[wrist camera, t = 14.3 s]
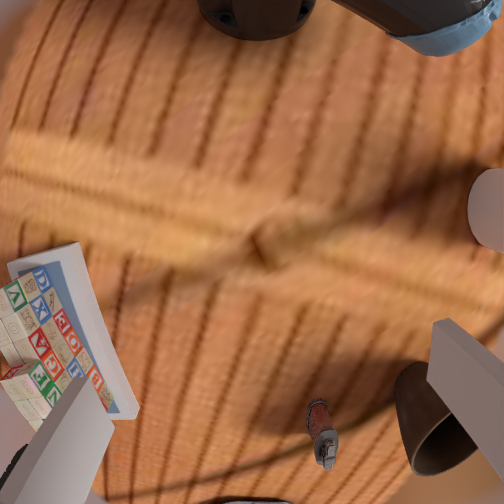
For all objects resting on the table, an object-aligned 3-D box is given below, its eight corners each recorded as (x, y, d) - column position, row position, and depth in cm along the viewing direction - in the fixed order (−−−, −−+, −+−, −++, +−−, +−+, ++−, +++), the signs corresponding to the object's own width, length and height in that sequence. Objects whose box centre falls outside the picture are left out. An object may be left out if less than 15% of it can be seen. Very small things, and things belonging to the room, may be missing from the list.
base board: (17, 258, 38) (5, 263, 35) (79, 241, 38) (68, 246, 35) (79, 408, 45) (73, 419, 42) (139, 407, 45) (135, 420, 42)
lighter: (325, 431, 47) (339, 474, 38) (305, 434, 47) (316, 478, 37) (328, 397, 45) (345, 440, 36) (306, 400, 45) (320, 445, 36)
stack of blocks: (16, 278, 36) (-40, 309, 24) (44, 263, 36) (-13, 295, 24) (84, 403, 41) (54, 456, 29) (116, 398, 41) (88, 456, 29)
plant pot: (355, 393, 46) (390, 465, 30) (421, 324, 43) (481, 378, 28) (403, 423, 48) (439, 483, 33) (461, 364, 46) (511, 414, 30)
